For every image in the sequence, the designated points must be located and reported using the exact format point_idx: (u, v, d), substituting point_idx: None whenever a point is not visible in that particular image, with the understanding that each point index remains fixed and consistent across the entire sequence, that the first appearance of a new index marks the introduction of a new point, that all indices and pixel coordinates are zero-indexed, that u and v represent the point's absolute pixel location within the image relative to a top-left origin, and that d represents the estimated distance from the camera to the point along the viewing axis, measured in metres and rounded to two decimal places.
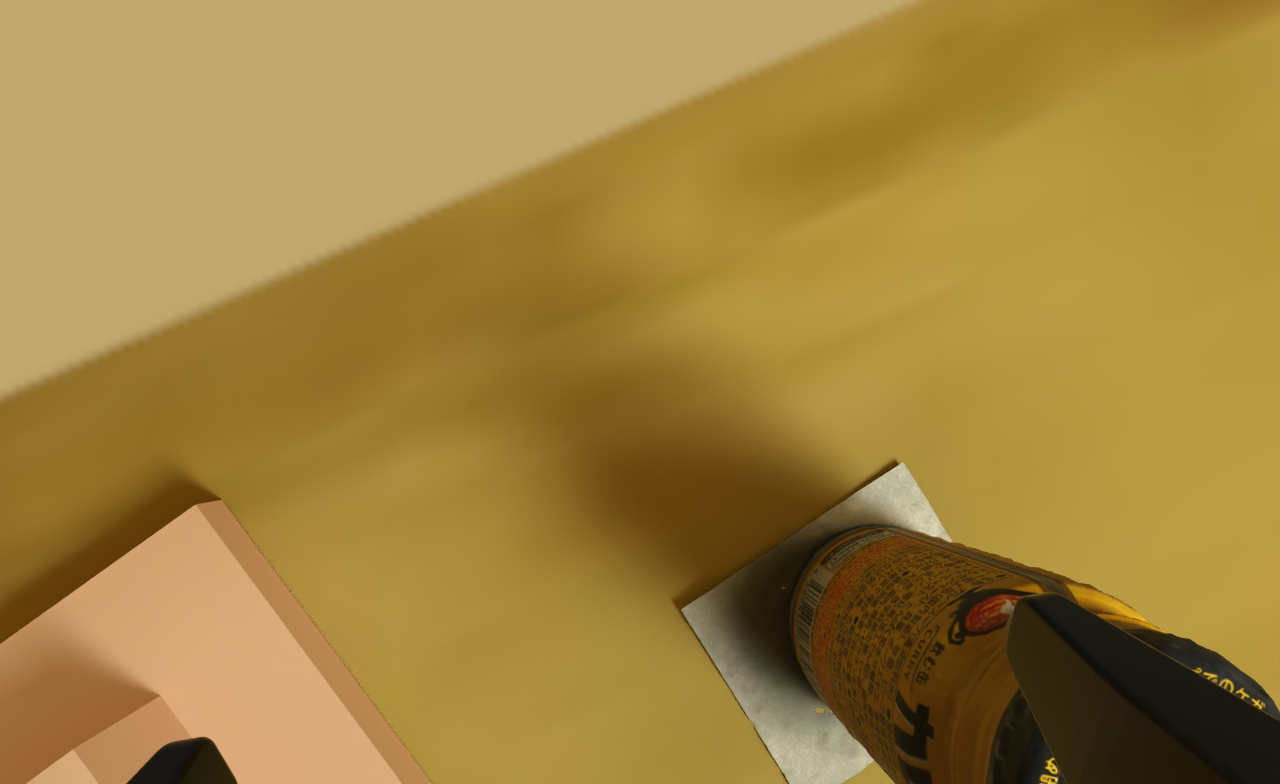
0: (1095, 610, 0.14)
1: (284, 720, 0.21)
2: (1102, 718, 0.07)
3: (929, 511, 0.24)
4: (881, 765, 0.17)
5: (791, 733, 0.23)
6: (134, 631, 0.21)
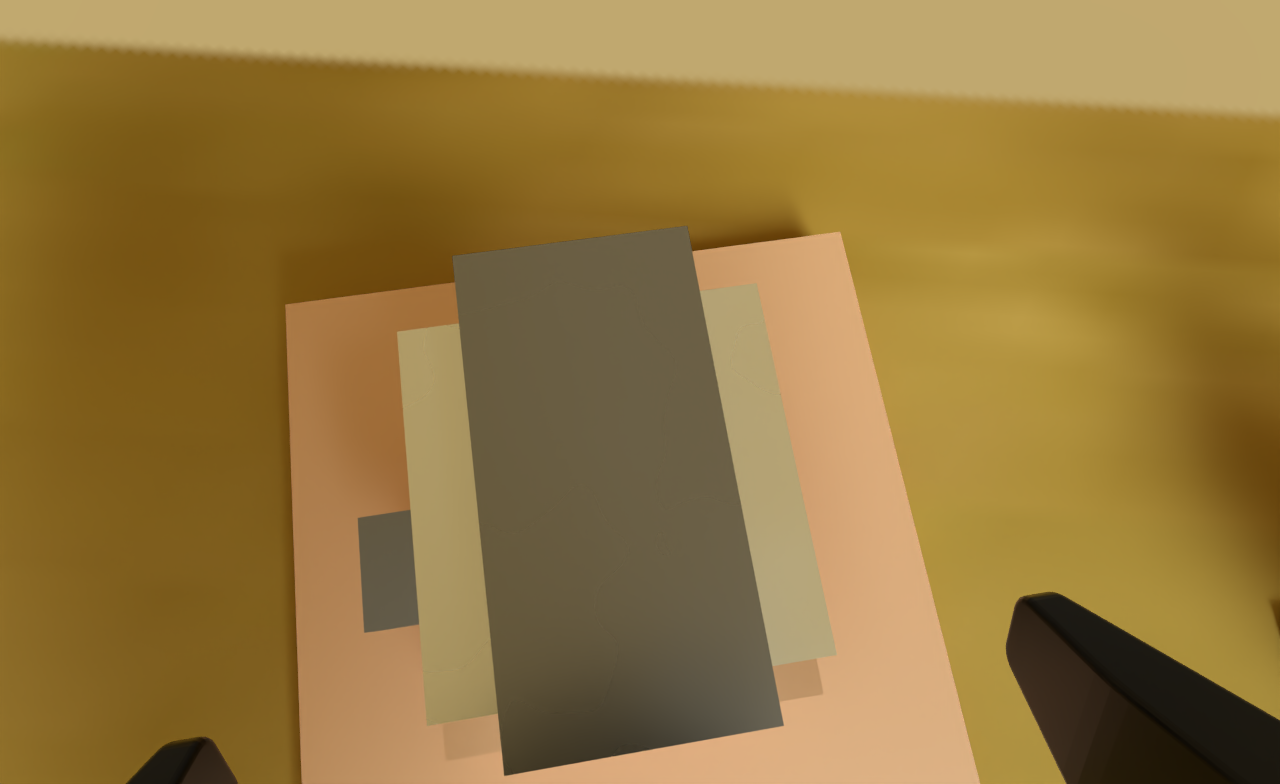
0: None
1: (838, 483, 0.17)
2: (1102, 718, 0.07)
3: None
4: None
5: None
6: None
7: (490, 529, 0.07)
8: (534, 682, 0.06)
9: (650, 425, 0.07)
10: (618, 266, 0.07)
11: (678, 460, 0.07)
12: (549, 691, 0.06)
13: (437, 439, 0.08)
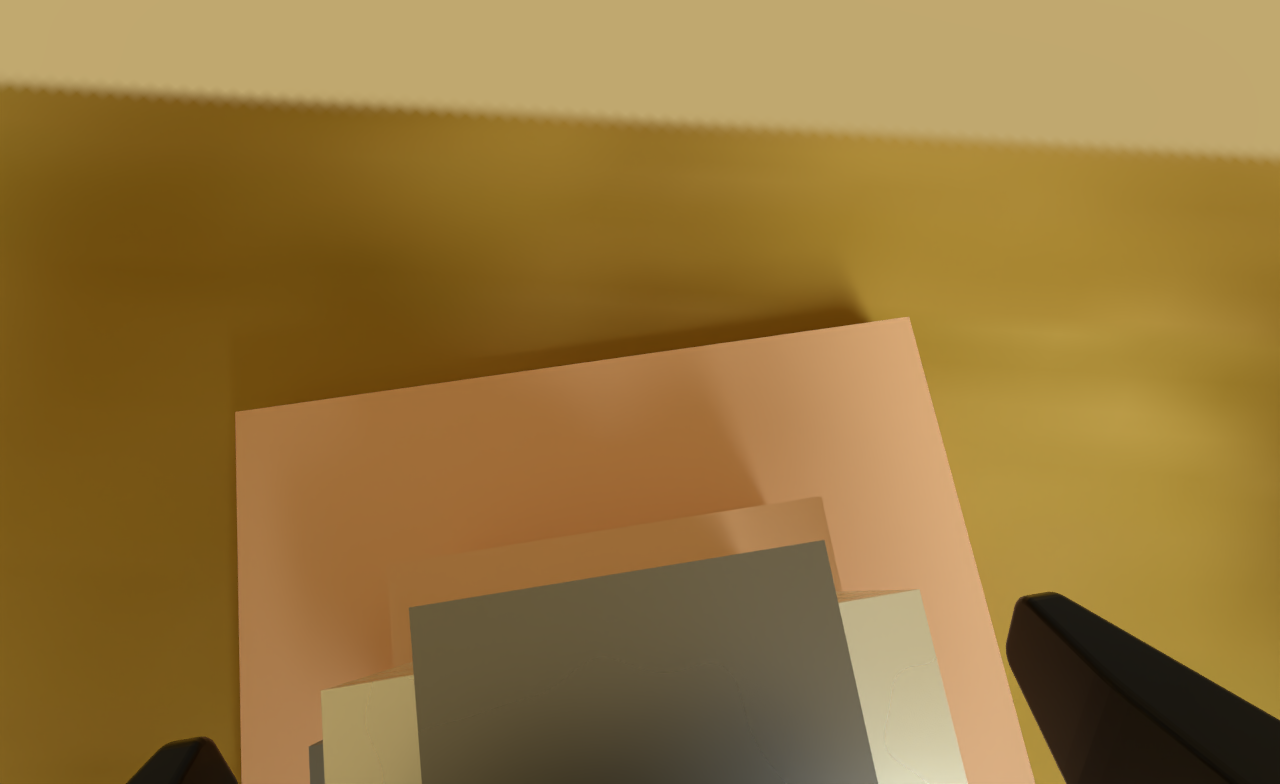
0: None
1: None
2: (1102, 718, 0.07)
3: None
4: None
5: None
6: (776, 425, 0.15)
7: None
8: None
9: None
10: (705, 624, 0.04)
11: None
12: None
13: None
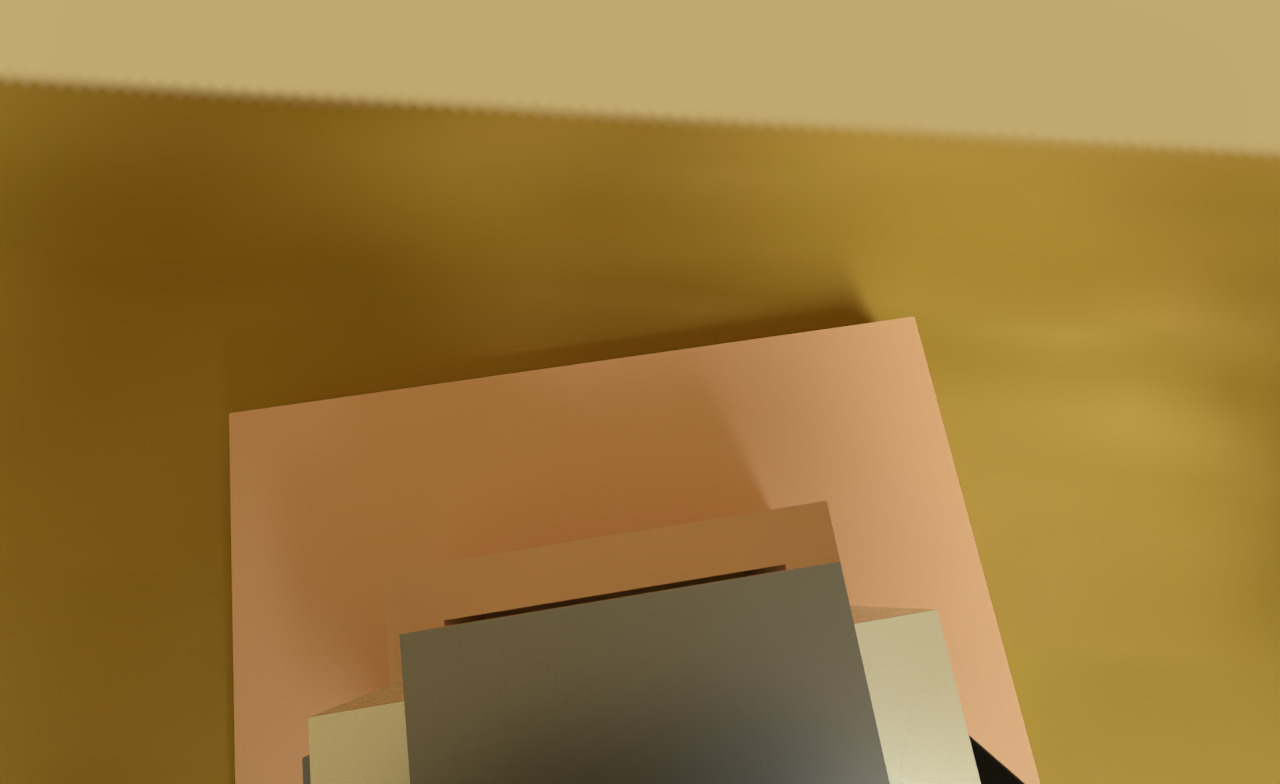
0: None
1: None
2: None
3: None
4: None
5: None
6: (779, 426, 0.15)
7: None
8: None
9: None
10: (715, 651, 0.04)
11: None
12: None
13: None
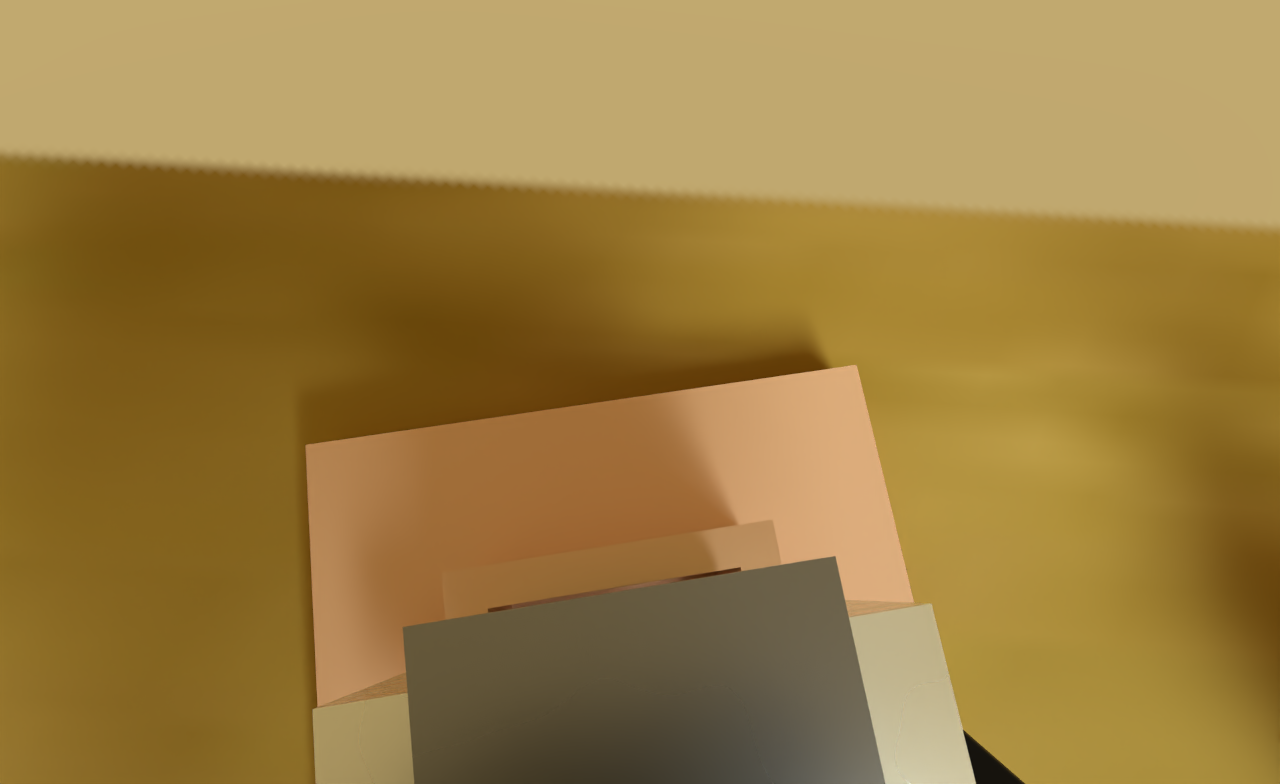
0: None
1: None
2: None
3: None
4: None
5: None
6: (746, 455, 0.19)
7: None
8: None
9: None
10: (711, 643, 0.04)
11: None
12: None
13: None
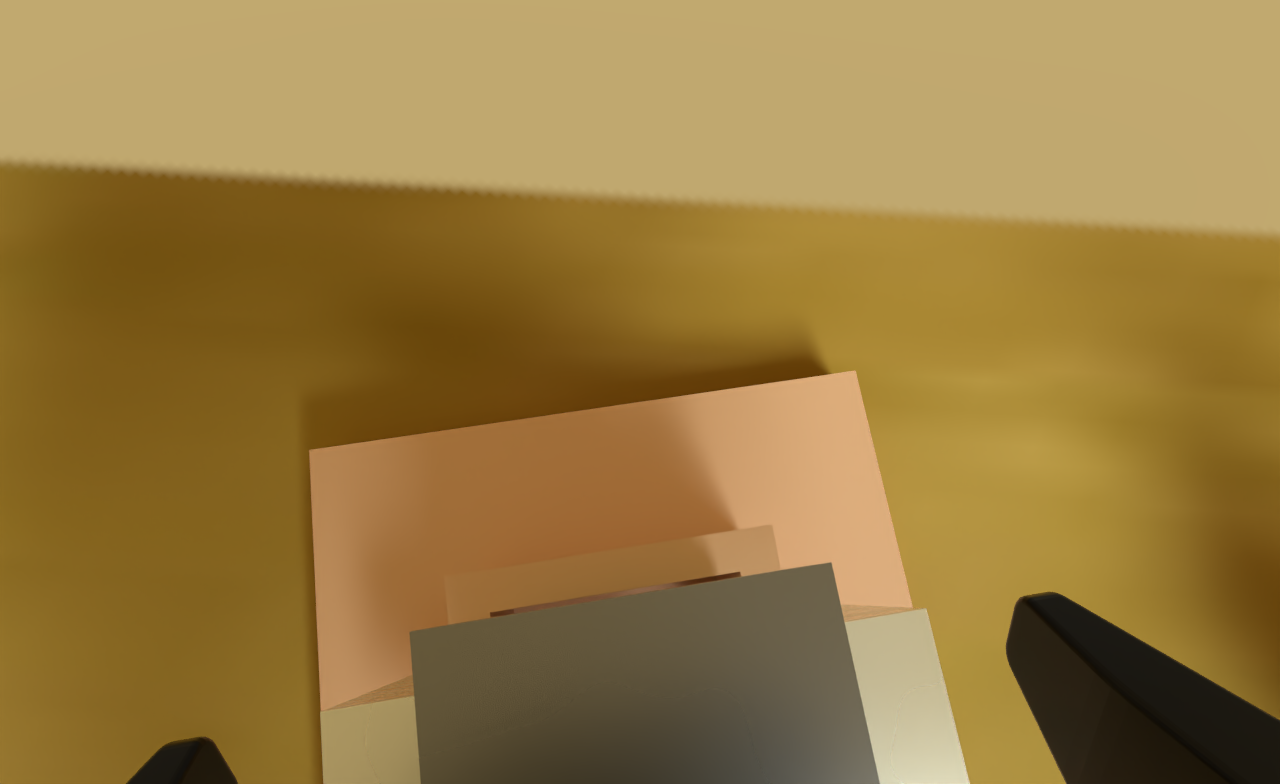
0: None
1: None
2: (1102, 718, 0.07)
3: None
4: None
5: None
6: (746, 460, 0.19)
7: None
8: None
9: None
10: (712, 647, 0.04)
11: None
12: None
13: None
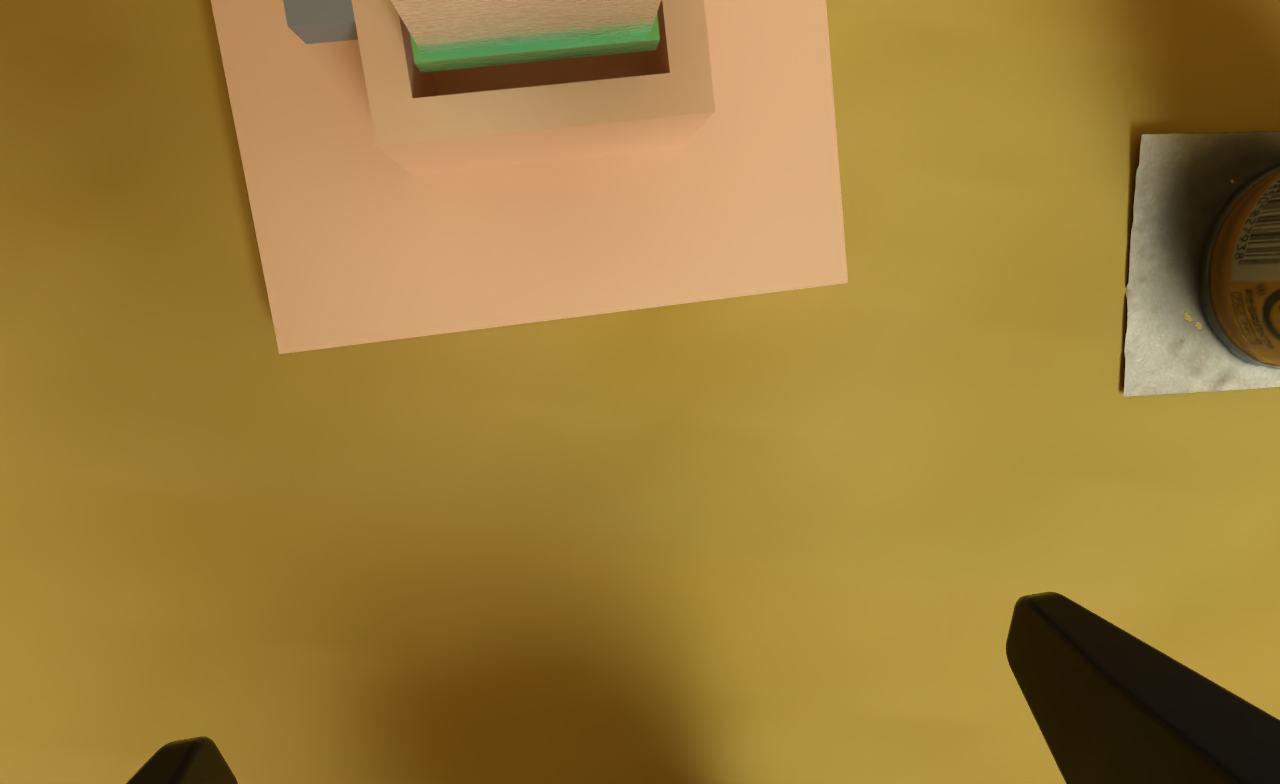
0: None
1: None
2: (1102, 718, 0.07)
3: None
4: None
5: (1156, 320, 0.21)
6: None
7: None
8: None
9: None
10: None
11: None
12: None
13: None
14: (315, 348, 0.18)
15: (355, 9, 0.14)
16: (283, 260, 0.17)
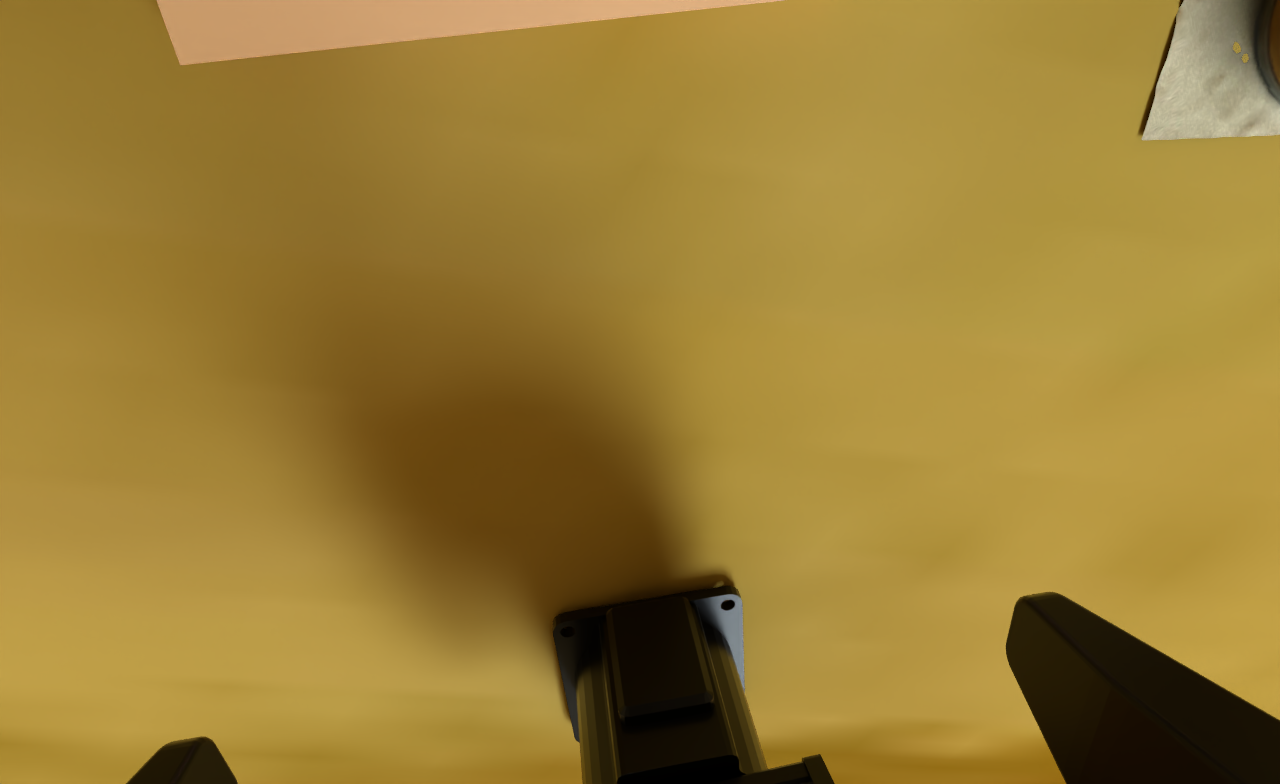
0: None
1: None
2: (1102, 718, 0.07)
3: None
4: None
5: (1200, 50, 0.19)
6: None
7: None
8: None
9: None
10: None
11: None
12: None
13: None
14: (223, 59, 0.15)
15: None
16: None
